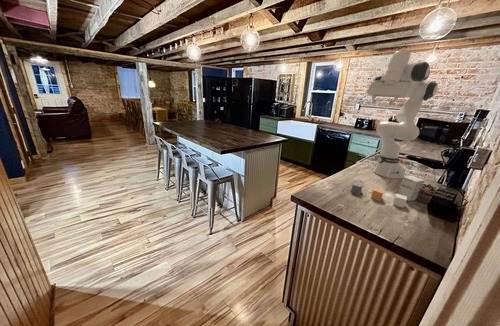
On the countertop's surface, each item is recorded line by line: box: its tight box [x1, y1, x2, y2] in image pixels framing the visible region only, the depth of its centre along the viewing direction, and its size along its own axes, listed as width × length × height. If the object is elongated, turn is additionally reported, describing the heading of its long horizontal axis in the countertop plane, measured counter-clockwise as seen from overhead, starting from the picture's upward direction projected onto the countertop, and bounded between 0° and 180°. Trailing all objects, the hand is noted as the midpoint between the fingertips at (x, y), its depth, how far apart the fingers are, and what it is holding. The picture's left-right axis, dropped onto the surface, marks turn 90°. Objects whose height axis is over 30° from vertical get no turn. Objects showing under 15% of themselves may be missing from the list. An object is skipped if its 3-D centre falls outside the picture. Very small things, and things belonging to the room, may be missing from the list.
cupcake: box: [415, 183, 438, 205], centre depth 117 cm, size 10×10×10 cm
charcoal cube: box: [350, 181, 364, 196], centre depth 123 cm, size 5×5×5 cm
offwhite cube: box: [392, 193, 408, 209], centre depth 112 cm, size 5×5×5 cm
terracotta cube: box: [370, 187, 385, 202], centre depth 117 cm, size 5×5×5 cm
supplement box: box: [397, 175, 425, 202], centre depth 118 cm, size 7×7×13 cm
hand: (381, 103), depth 116 cm, fingers open, 8 cm apart
